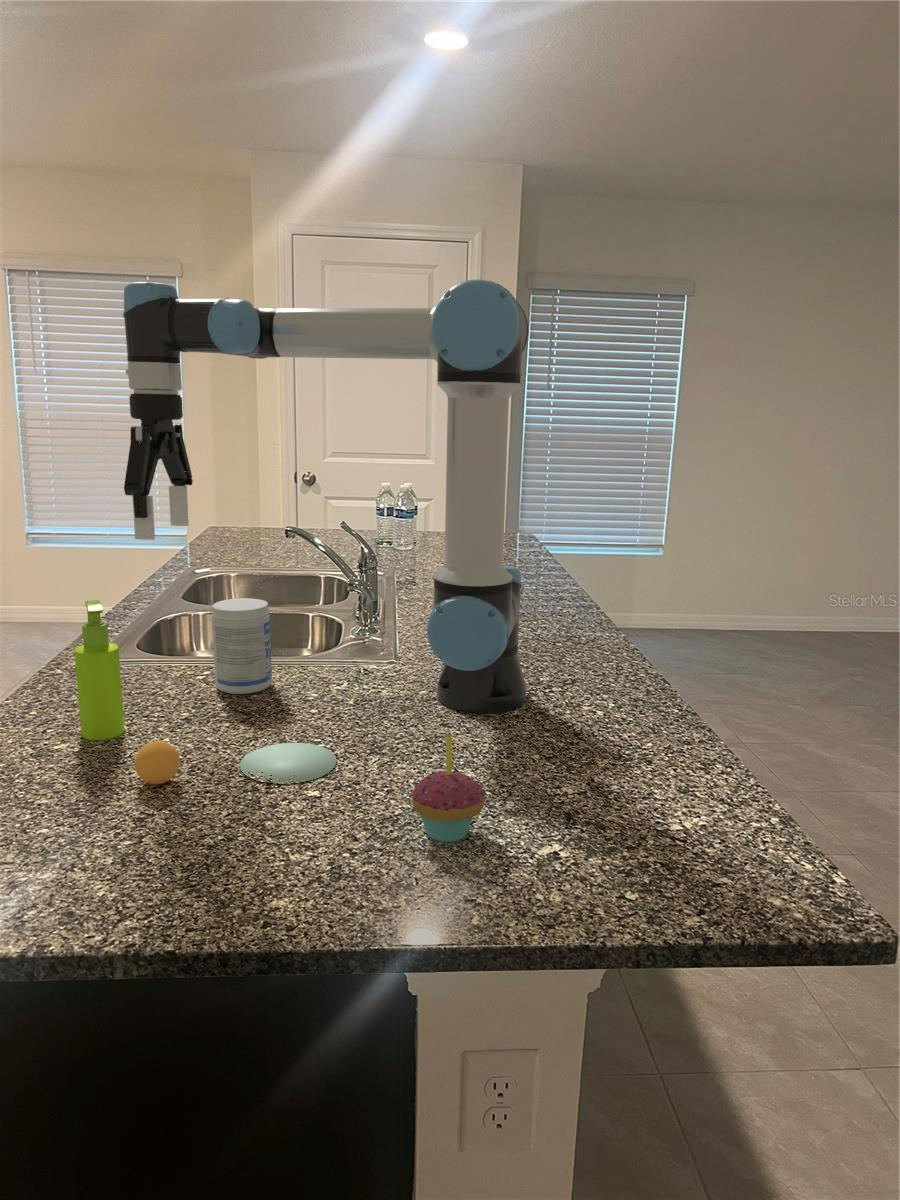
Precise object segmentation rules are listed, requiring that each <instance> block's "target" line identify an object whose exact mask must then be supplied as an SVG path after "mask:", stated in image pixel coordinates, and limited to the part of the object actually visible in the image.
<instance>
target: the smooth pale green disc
mask: <svg viewBox="0 0 900 1200" xmlns="http://www.w3.org/2000/svg"><path fill="white" fill-rule="evenodd" d="M336 757H337V756H336V755H335V753H333V752H332V751H331V750H329V749H328V748H326V747H323V746H320V745H316V744H312V743H303V742H285V743H277V744H271V745H267V746H263V747H260V748H257V749H255V750H253V751H251V752H249V753H247V754H245V756H244V757H243V758H242V759H241V761H240V765H239V770H240V772H241V771H242V772H243V773H244V774H245V775H246V774H247V775H248V776H249V774H248V772H250V773H252V774H254V775H255V778H257V779H258V777H257V776H259V777H260V775H259V774H258V772H259V773H260V774H261V775H262V773H261V772H263V774H264V776H265V778H266V779H268V780H270V779H269V778H268V777H270V778H271V779H272V782H273V783H276V782H275V781H277V782H279V781H278V780H280V781H282V782H283V783H288V782H290V783H292V782H291V781H290V780H292V781H294V782H296V781H295V780H294V779H296V780H297V782H300V781H301V782H304V783H306V782H305V781H308V780H312V781H314V780H313V779H315V778H318V779H320V778H319V777H321V776H323V775H325V774H327V773H328V772H330V771H331V770H332V771H333V770H334V769H333V768H335V767H336V766H335V765H337V758H336ZM256 770H257V771H258V772H257V771H256ZM260 771H261V772H260ZM332 771H331V772H332ZM242 772H241V773H242ZM331 772H330V773H331ZM243 773H242V774H243ZM244 774H243V775H244ZM270 774H271V775H272V777H271V776H270ZM328 774H329V773H328ZM328 774H327V775H328ZM245 775H244V776H245ZM256 775H257V776H256ZM294 775H295V776H297V777H298V778H296V777H295V776H294ZM262 776H263V775H262ZM264 776H263V777H264ZM325 776H326V775H325ZM249 777H250V776H249ZM323 777H324V776H323ZM255 778H252V779H255ZM260 778H261V777H260ZM265 778H264V780H265V781H266V782H268V781H267V780H266V779H265ZM280 778H281V779H280ZM293 778H294V779H293ZM321 778H322V777H321ZM252 779H251V780H252ZM261 779H262V778H261ZM277 779H278V780H277ZM289 779H290V780H289ZM258 780H259V779H258ZM274 780H275V781H274ZM270 781H271V780H270ZM287 781H288V782H287ZM279 783H280V782H279Z"/></svg>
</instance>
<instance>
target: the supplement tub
mask: <svg viewBox="0 0 900 1200" xmlns="http://www.w3.org/2000/svg"><path fill="white" fill-rule="evenodd" d="M211 609H212V611H211V629H212V643H213V645H212V646H213V662H214V663H213V664H214V679H215V681H214V683H215V686H216V688H217V689H218V690H219V691H221V692H224V693H226V694H232V695H233V694H234V695H247V694H254V693H258V692H262V691H264V690H265V689H268V688H269V687H270V686H271V685H272V682H273V673H272V672H273V671H272V669H273V667H272V646H271V644H272V643H271V641H272V640H271V619H270V618H271V617H270V610H269V603H268V601H266V600H263V599H258V598H250V597H249V598H248V597H247V598H246V597H245V598H244V597H243V598H230V599H229V598H228V599H223V600H220V601H216V602H215V603H213V604H212V608H211Z"/></svg>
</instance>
